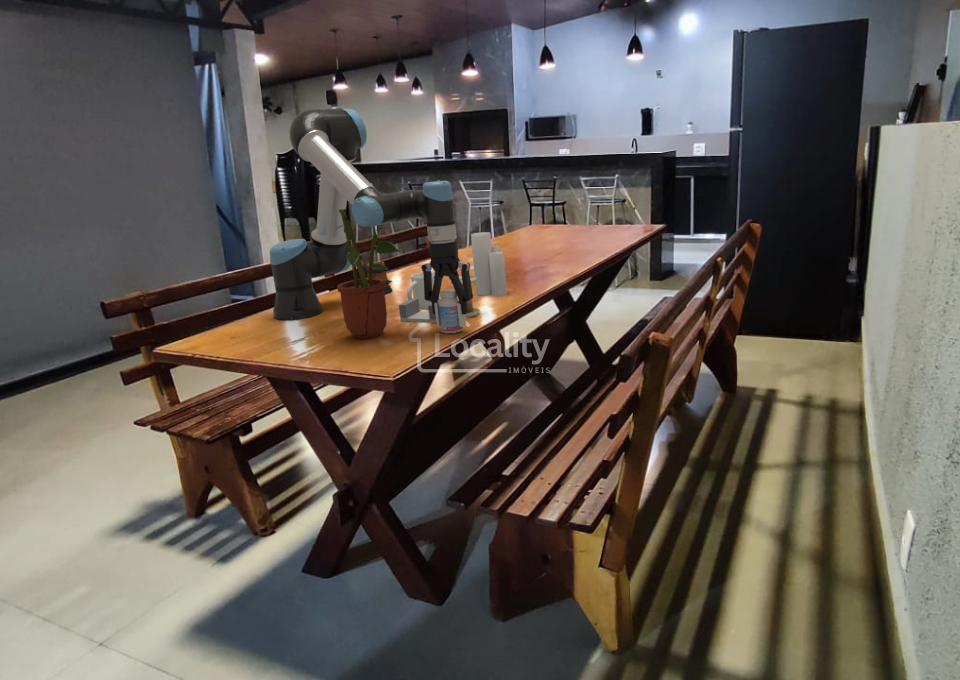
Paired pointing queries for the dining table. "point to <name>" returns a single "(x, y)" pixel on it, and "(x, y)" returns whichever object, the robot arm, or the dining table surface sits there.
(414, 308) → the notch board
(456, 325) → the pill bottle
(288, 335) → the dining table surface
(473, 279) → the wooden thread spool
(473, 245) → the vase
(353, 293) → the potted plant
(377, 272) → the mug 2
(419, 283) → the mug
